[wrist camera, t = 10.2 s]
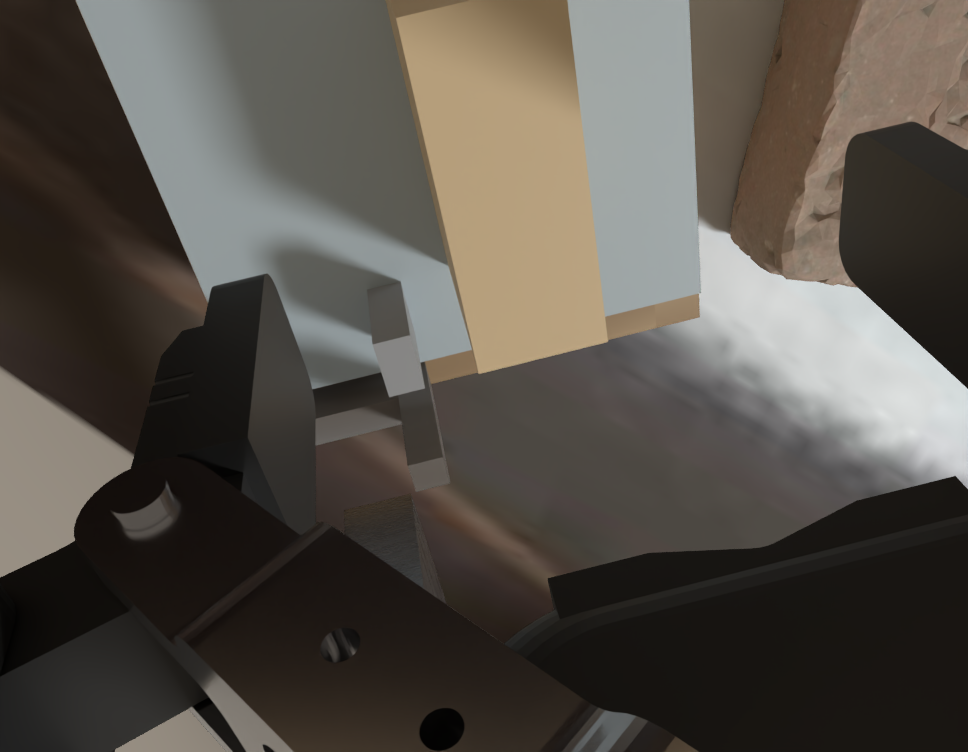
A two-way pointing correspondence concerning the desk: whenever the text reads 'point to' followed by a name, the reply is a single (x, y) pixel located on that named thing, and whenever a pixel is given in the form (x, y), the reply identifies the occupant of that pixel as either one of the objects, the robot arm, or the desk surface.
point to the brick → (841, 117)
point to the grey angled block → (395, 539)
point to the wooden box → (372, 408)
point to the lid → (420, 165)
